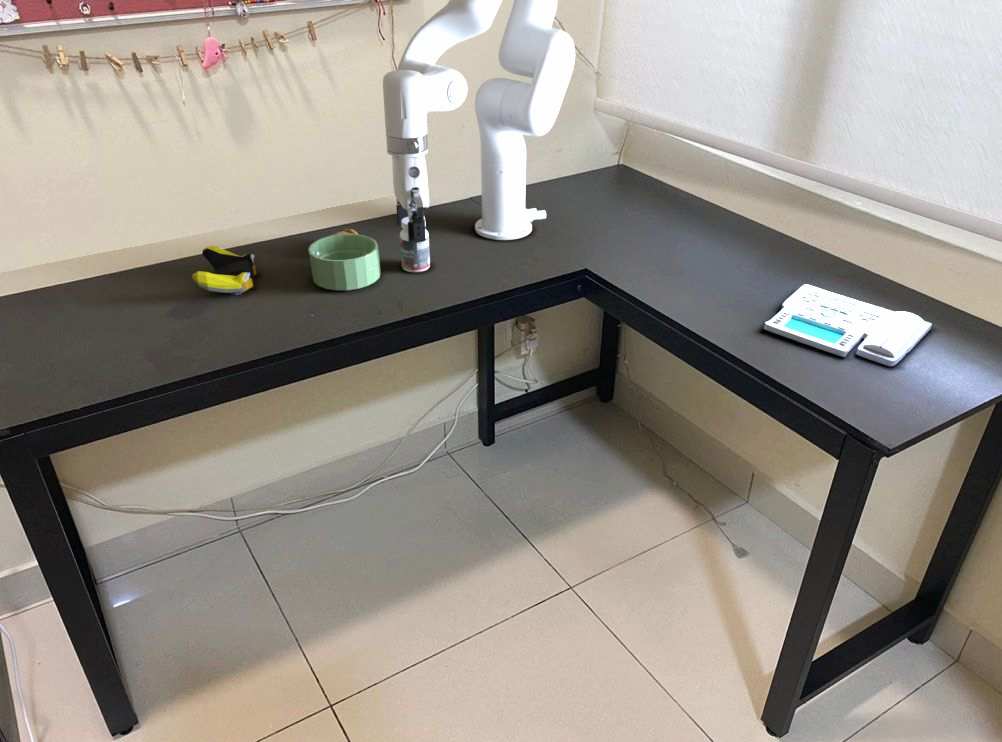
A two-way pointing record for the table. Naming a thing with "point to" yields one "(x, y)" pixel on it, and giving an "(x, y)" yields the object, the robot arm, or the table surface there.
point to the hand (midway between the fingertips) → (411, 232)
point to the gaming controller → (226, 272)
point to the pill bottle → (413, 251)
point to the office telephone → (847, 325)
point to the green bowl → (344, 261)
